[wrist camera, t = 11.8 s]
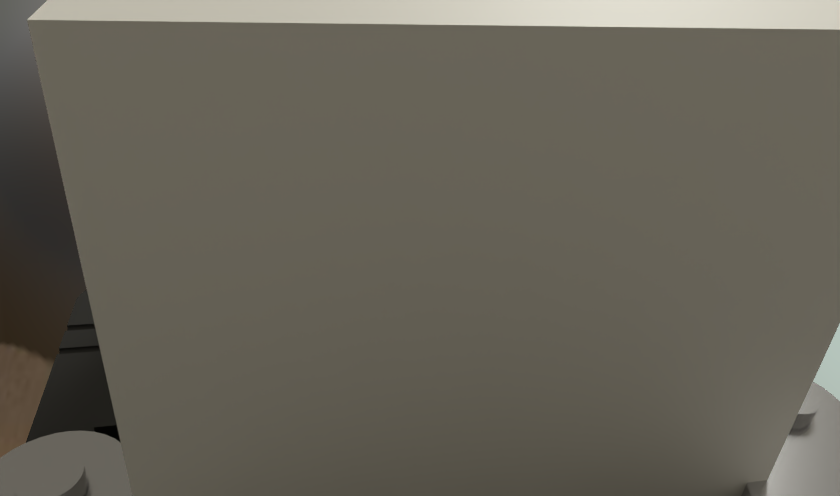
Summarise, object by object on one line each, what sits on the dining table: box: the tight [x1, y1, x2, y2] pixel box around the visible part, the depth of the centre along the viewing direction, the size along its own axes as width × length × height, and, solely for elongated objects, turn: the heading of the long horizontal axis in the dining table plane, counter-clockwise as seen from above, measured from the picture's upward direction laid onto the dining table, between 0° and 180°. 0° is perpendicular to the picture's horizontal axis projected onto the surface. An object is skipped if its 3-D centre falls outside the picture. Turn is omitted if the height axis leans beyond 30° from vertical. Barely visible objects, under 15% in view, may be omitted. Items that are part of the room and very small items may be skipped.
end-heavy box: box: [27, 0, 840, 496], centre depth 9 cm, size 5×5×12 cm
